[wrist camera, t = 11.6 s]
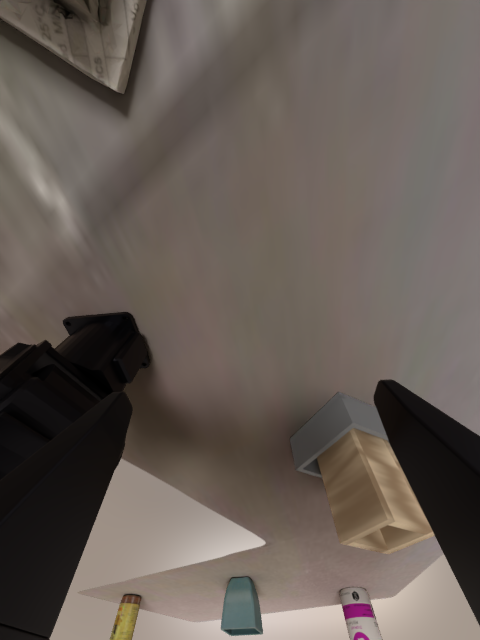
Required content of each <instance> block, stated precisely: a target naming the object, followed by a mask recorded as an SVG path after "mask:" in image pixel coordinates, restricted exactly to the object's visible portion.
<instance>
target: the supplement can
mask: <svg viewBox="0 0 480 640" xmlns="http://www.w3.org/2000/svg"><path fill="white" fill-rule="evenodd" d="M340 599H341V603H342V608H343V612H344V616H345V620H346V624H347V628H348V633H349V638H350V640H382V637H381V634H380V630H379V627H378V624H377V621H376V618H375V614H374V611H373V608H372V604H371V601H370V598H369V594H368V593H367V592H366V591H365V589H364V588H360V587H349V588H344V589H342V590H341V593H340Z"/></svg>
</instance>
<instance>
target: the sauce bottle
mask: <svg viewBox="0 0 480 640" xmlns="http://www.w3.org/2000/svg"><path fill="white" fill-rule="evenodd" d="M140 601H141V597H140V596H137V595H125V596H123V598H122V600H121V603H120V606H119V609H118V613H117V616H116V620H115V623H114V626H113V630H112V634H111V637H110V640H132V636H133V632H134V628H135V624H136V619H137V615H138V611H139V607H140V605H139V604H140Z"/></svg>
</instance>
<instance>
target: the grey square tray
mask: <svg viewBox="0 0 480 640" xmlns="http://www.w3.org/2000/svg"><path fill="white" fill-rule="evenodd" d="M353 428H355V429H358V430H361V431H364V432H366V433H369V434H372V435H374V436H377V437H380V438H382V439H385V440H387V441H388V442H389V440H388V438H387V435H386V432H385V430H384V427H383V424H382V422H381V419H380V416H379V414H378V411H377V408H376V407H375V406H372V405H370V404H367V403H365V402H362V401H360V400H358V399H355V398H353V397H350V396H348V395H345V394H343V393H340V392H338V393H337V394H336V395H335V396H334V397H333V398H332V399H331V400H330V401H328V402H327V403H326V404H325V405H324V406H323V407H322V408H321V409H320V410H319V411H318V412H317V413H316V414H315V415H314V416H313V417H312V418H311V419H310V420H309V421H308V422H307V423H306V424H305V425H303V426H302V427H301V428H300V429H299V430H298V431H297V432H296V433H295V434H294V435H293V436H292V437H291V438H290V443H291V448H292V454H293V459H294V465H295V470H297V471H300V472H303V473H307V474H310V475H313V476H317V477H320V478H322V475H321V471H320V467H319V464H318V460H317V457H318V456H319V455H321V454H322V453H323V452H324V451H325V450H327V449H328V448H329V447H330V446H332V445H333V444H334V443H335V442H337V441H338V440H339V439H340V438H341V437H343V436H344V435H345V434H346V433H348V432H349V431H350V430H351V429H353ZM389 444H390V443H389ZM390 446H391V445H390Z"/></svg>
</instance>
